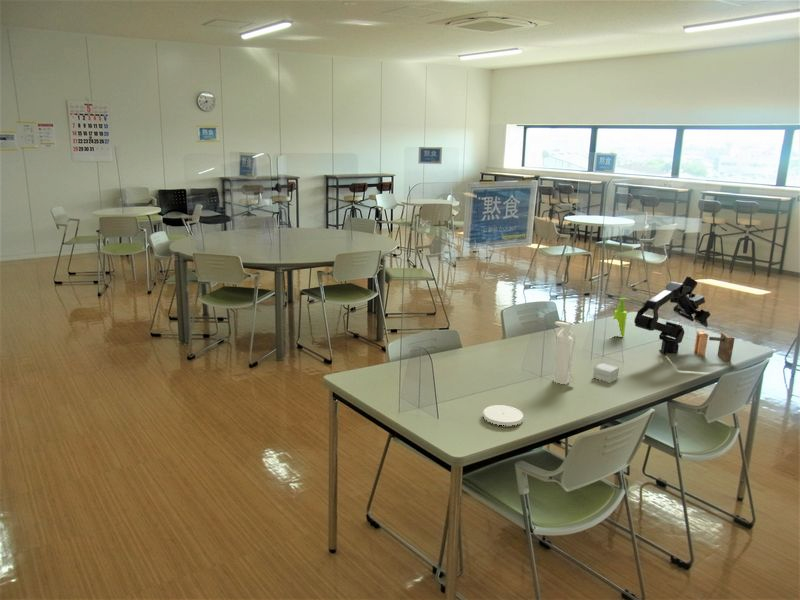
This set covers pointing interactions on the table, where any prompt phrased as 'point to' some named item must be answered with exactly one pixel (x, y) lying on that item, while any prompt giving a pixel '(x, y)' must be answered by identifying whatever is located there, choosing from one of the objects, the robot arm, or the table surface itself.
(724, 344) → the walnut stand
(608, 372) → the small box
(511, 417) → the plastic lid
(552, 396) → the table surface
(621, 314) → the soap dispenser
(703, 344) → the C-link
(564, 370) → the spray bottle
